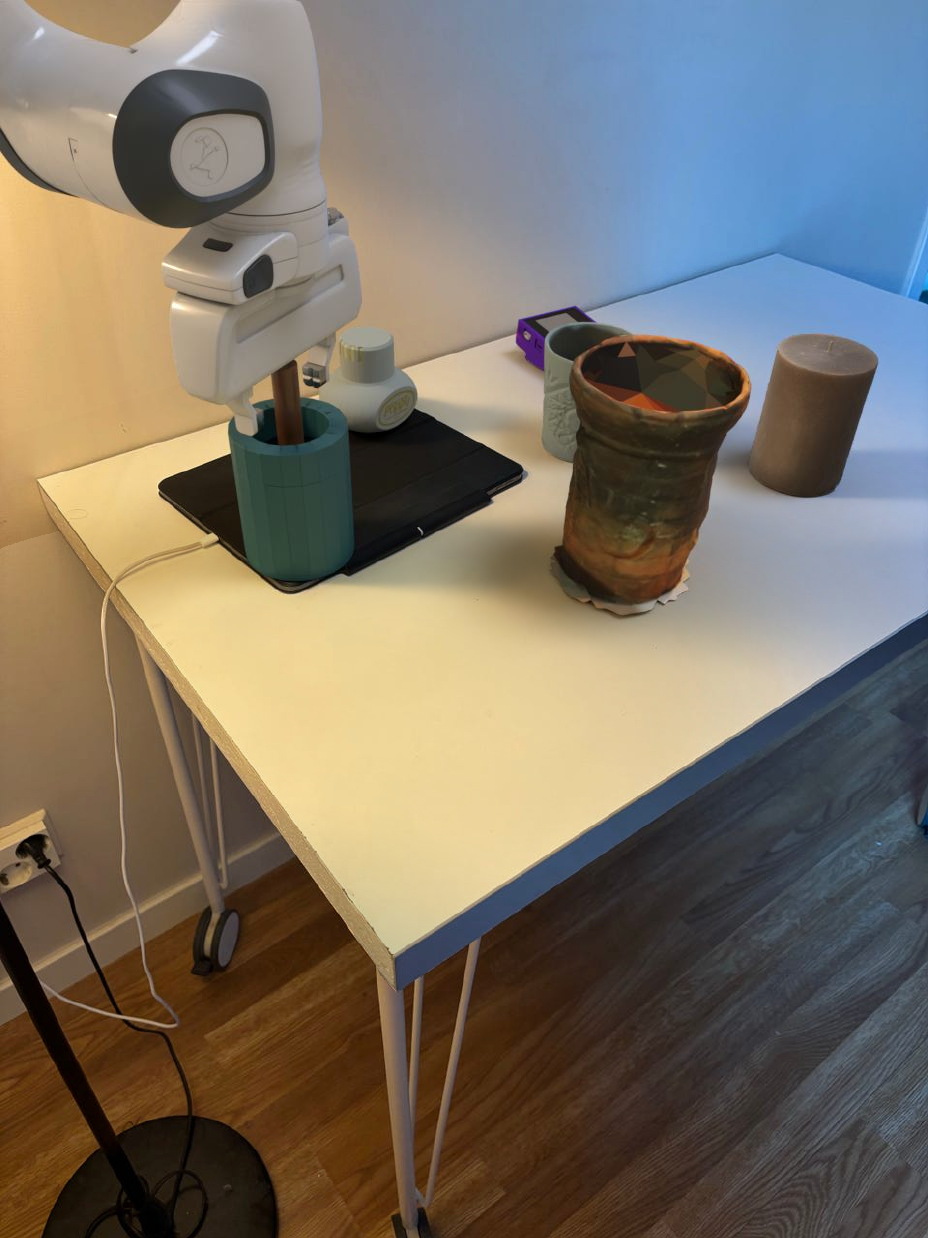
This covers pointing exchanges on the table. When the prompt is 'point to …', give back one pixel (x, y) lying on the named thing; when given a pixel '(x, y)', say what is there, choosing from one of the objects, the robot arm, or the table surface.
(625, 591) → the vessel
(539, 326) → the handheld gaming console
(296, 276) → the robot arm
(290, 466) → the container
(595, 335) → the green embossed cup
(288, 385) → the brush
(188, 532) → the table surface
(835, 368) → the pillar candle
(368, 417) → the air freshener
